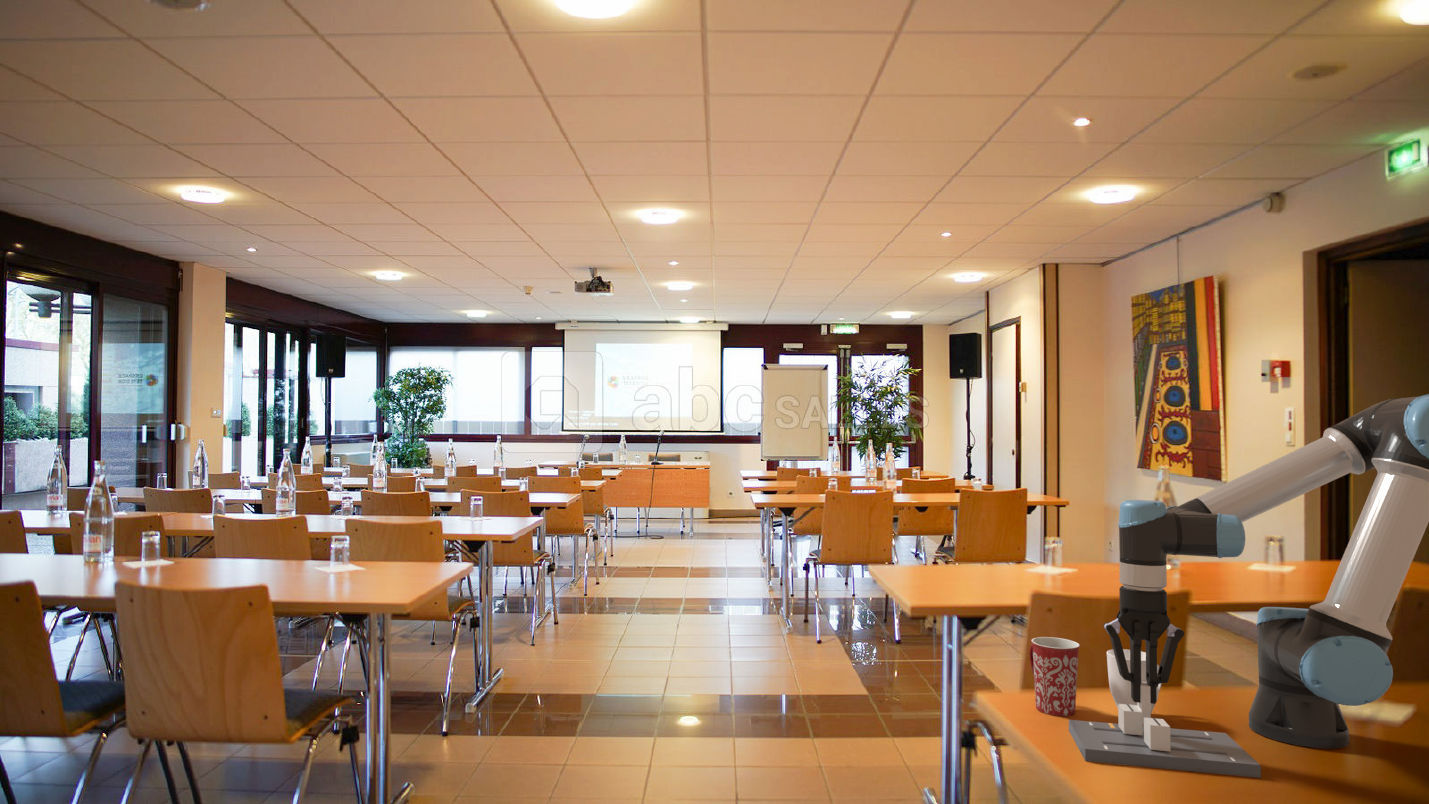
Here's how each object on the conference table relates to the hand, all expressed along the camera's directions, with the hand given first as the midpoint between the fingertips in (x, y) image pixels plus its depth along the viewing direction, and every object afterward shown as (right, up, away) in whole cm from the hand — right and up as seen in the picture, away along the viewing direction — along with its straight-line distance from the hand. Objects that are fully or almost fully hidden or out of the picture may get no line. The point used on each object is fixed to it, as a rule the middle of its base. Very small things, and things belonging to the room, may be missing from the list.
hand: (1143, 721), depth 144 cm
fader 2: (-1, -2, -7) cm, 7 cm away
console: (0, -4, -4) cm, 6 cm away
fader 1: (-2, -2, 0) cm, 3 cm away
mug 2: (+7, -5, +16) cm, 18 cm away
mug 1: (-8, -5, +20) cm, 22 cm away
